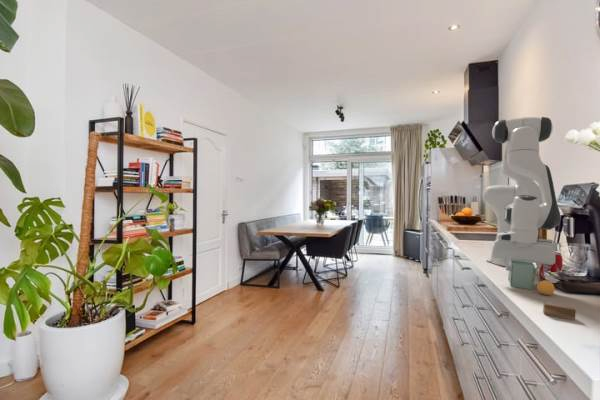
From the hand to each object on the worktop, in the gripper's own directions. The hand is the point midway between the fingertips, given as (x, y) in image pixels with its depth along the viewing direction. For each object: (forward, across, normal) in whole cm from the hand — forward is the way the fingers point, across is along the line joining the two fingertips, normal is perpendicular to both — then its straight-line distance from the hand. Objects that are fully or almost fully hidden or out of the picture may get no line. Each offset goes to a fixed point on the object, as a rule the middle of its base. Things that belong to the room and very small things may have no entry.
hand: (520, 272), depth 123 cm
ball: (+2, -6, +10) cm, 12 cm away
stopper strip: (+5, -6, +32) cm, 33 cm away
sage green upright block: (+5, 0, 0) cm, 5 cm away
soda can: (+5, -11, -12) cm, 17 cm away
